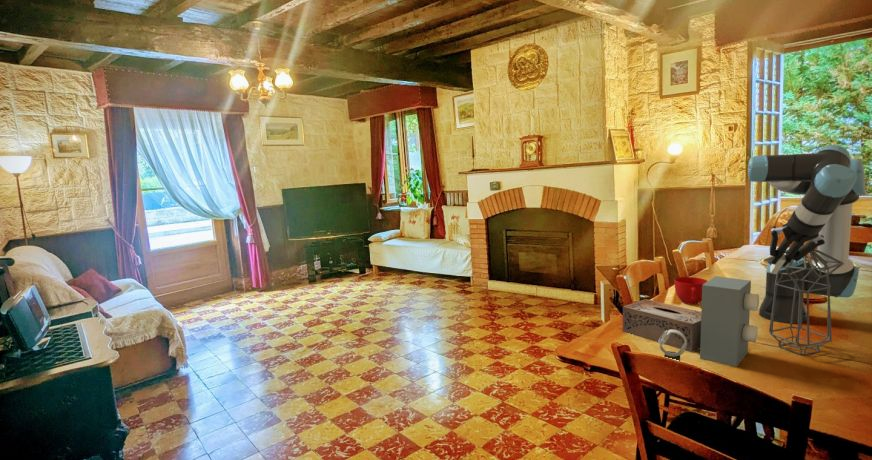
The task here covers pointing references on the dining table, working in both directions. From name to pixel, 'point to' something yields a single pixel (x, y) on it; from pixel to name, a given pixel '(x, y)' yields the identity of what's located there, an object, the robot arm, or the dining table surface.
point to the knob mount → (724, 320)
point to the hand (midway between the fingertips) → (773, 270)
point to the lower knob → (749, 333)
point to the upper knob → (751, 301)
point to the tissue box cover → (663, 323)
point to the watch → (665, 337)
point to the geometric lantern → (824, 262)
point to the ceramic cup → (689, 289)
